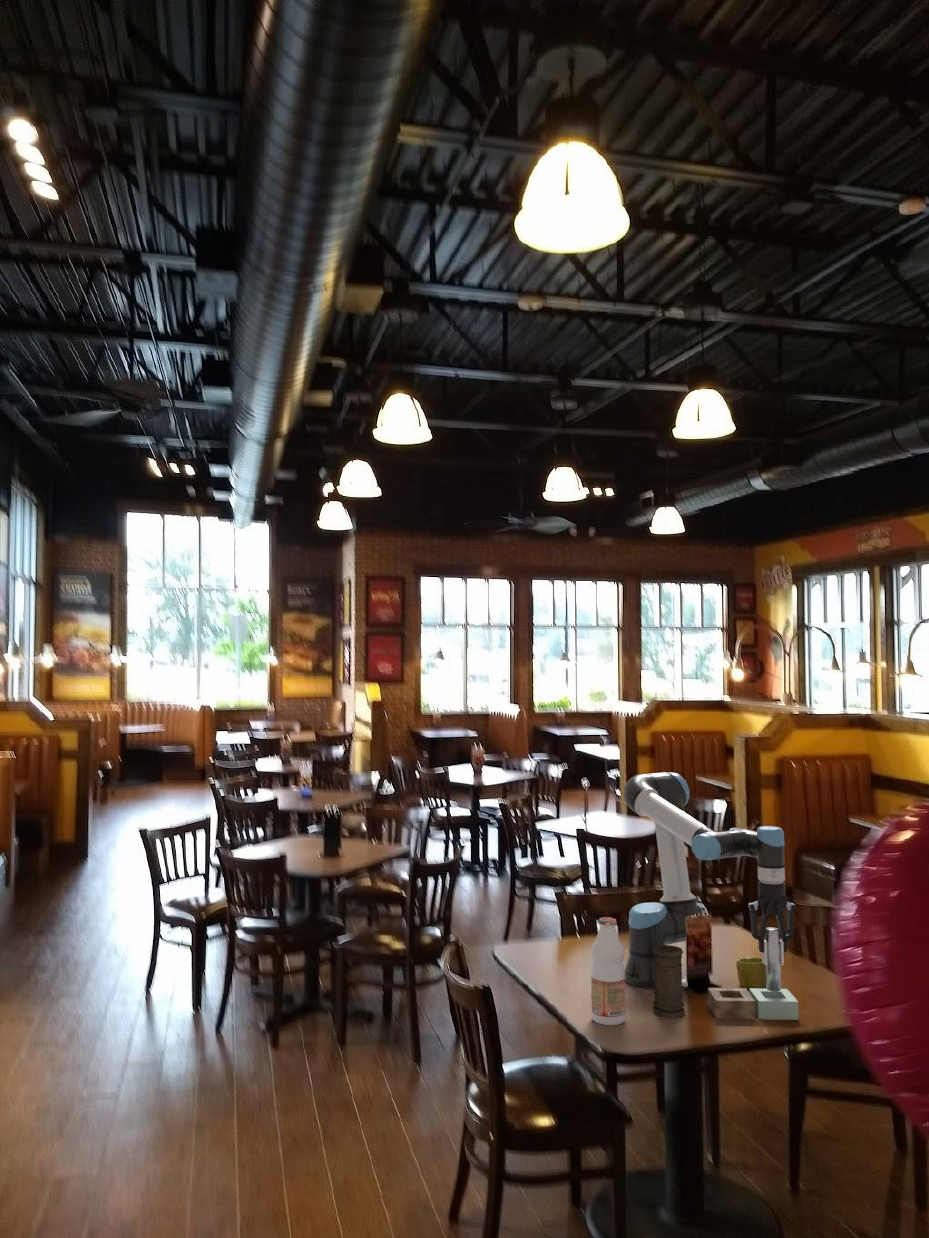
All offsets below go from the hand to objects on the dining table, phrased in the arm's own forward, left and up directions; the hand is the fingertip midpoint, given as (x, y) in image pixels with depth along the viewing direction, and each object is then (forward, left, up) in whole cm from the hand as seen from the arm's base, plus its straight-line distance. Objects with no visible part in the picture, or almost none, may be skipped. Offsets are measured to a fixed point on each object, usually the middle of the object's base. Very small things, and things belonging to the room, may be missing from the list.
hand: (773, 963), depth 282 cm
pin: (0, 0, -7) cm, 7 cm away
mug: (0, +25, -14) cm, 29 cm away
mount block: (-12, 0, -14) cm, 18 cm away
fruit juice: (-48, -8, -14) cm, 51 cm away
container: (-30, -1, -14) cm, 33 cm away
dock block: (0, 0, -14) cm, 14 cm away
